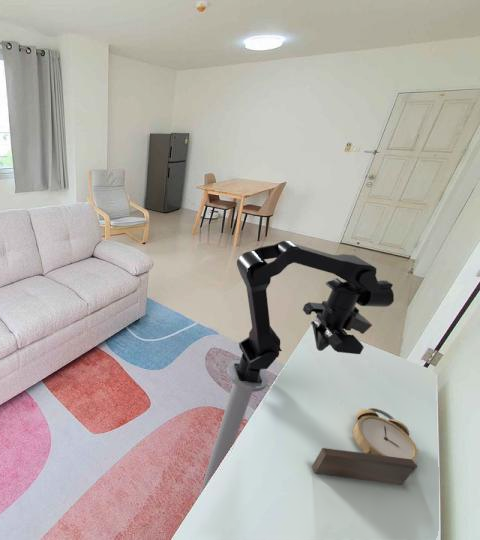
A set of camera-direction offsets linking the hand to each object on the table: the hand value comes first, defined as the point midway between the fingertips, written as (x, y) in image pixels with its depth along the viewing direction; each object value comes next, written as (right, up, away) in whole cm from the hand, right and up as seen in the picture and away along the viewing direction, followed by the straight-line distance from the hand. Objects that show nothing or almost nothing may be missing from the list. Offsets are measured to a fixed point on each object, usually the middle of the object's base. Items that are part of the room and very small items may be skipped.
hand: (319, 349), depth 83 cm
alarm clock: (+7, -20, -11) cm, 23 cm away
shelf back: (-4, -23, -18) cm, 30 cm away
